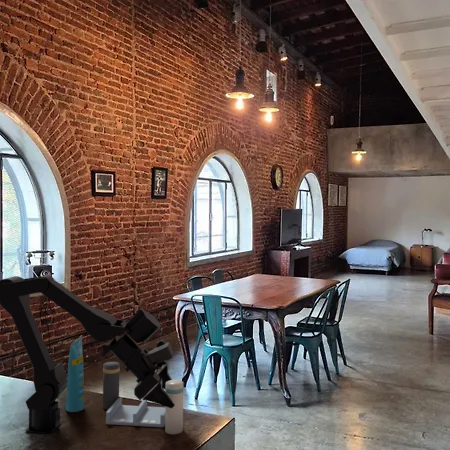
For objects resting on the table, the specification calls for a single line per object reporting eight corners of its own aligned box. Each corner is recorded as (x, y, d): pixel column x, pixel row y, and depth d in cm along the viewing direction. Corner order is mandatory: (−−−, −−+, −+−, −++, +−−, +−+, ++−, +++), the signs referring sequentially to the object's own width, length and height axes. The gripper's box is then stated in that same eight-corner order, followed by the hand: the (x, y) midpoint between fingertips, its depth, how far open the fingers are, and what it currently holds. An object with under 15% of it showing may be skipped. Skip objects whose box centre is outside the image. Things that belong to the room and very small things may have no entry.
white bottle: (163, 433, 122) (163, 385, 122) (166, 426, 127) (167, 379, 127) (181, 434, 122) (181, 386, 122) (184, 427, 126) (185, 380, 126)
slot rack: (105, 424, 128) (106, 412, 127) (119, 407, 138) (119, 397, 138) (163, 427, 126) (163, 415, 126) (172, 410, 137) (172, 399, 137)
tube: (80, 414, 133) (81, 343, 133) (62, 414, 133) (63, 342, 133) (87, 404, 141) (88, 336, 141) (69, 403, 141) (70, 336, 140)
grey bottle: (100, 409, 137) (100, 366, 137) (105, 403, 142) (106, 361, 141) (116, 410, 137) (116, 366, 137) (121, 404, 141) (121, 362, 141)
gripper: (148, 342, 115) (195, 390, 115) (159, 324, 133) (200, 366, 133) (114, 375, 115) (161, 423, 115) (130, 353, 134) (171, 395, 134)
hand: (175, 399), depth 124 cm, fingers open, 9 cm apart
